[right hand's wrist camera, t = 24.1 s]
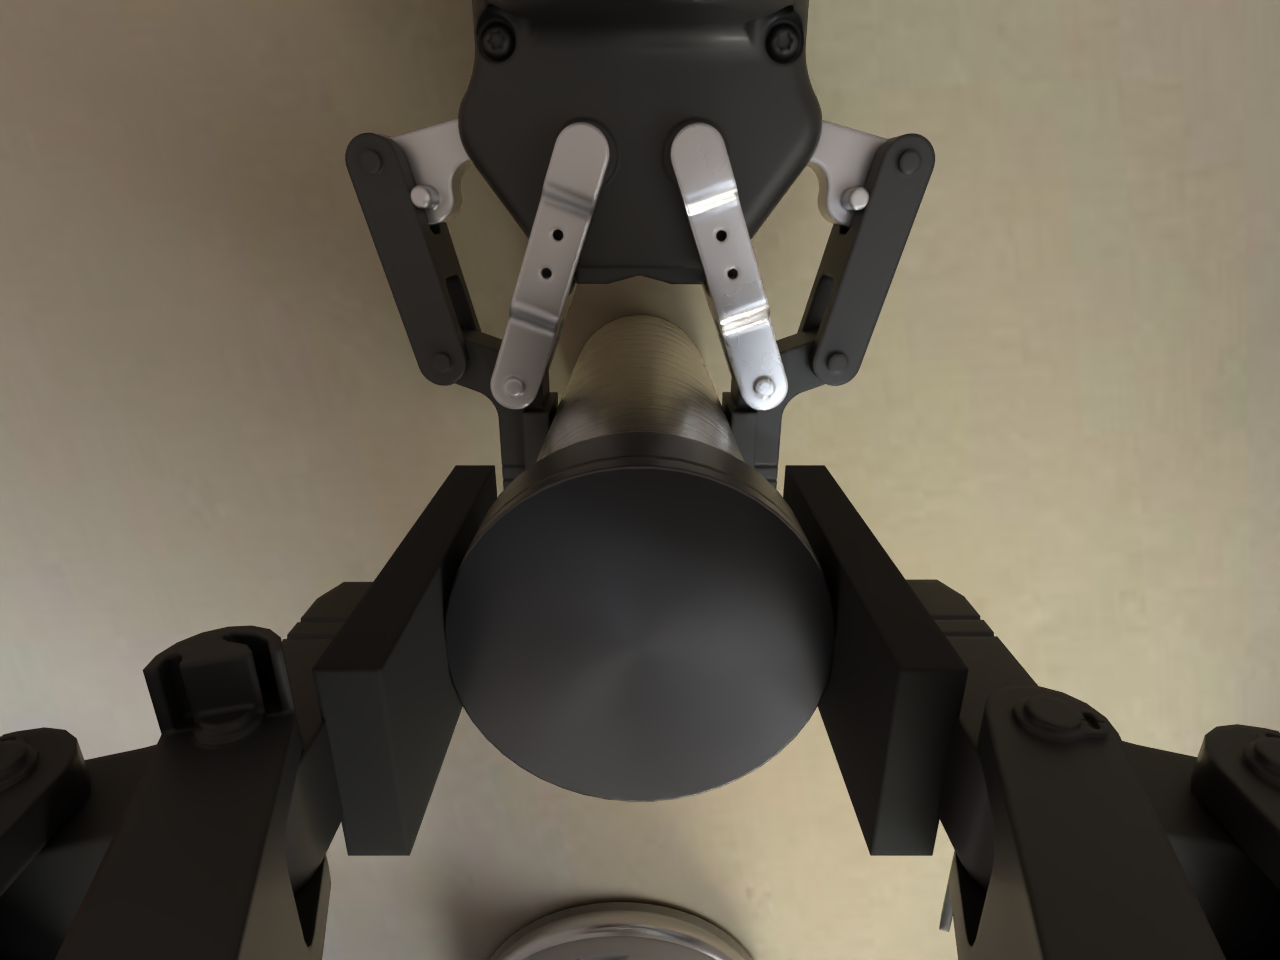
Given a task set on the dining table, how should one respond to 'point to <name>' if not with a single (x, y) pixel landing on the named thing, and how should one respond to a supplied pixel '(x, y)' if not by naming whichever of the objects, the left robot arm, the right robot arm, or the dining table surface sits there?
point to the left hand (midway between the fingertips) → (638, 522)
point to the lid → (640, 619)
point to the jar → (640, 388)
